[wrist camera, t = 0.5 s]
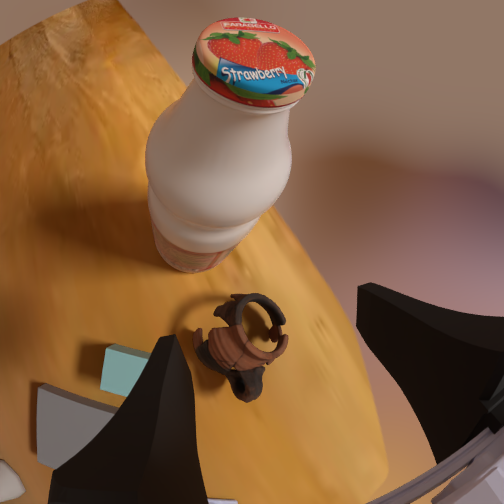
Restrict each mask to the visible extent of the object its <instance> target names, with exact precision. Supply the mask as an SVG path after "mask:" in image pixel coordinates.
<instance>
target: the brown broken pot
mask: <svg viewBox="0 0 504 504" xmlns="http://www.w3.org/2000/svg"><path fill="white" fill-rule="evenodd" d="M230 297H231V298H234V299H235V301H230V302H226V303H225V304H223V305H220V306H218V307H217V308H216V309H215V311H214V314H213V315H214V316H216V317H219V316H220V317H221V318H222V319H223V320H224V321H225V322H226V323H227V324H228V325H229V327H222V328H212V330H210V332H209V334H208V338H209V339H208V340H206V341H205V342H204V343H203V339H202V329H201V328H198V329H197V330H196V331H195V332H194V334H193V345H194V349H195V352H196V354H197V356H198V358H199V359H200V361H201V362H202V363H203V364H204V365H205V366H206V367H208V368H210V369H212V370H214V371H217V372H219V373H221V374H223V375H225V376H226V377H227V379H228V380H229V382H230V384H231V388H232V391H233V393H234V395H235V396H236V397H237V398H238V399H239V400H242V401H244V402H246V403H248V402H251V401H252V400H255V399H257V398H258V397H259V396H260V394H261V392H262V387H263V383H262V375H263V373H264V371H265V367H264V366H262V365H264V364H265V363H266V364H267V365H269V364H271V363H272V362H273V361H274V359H275V358H277V357H279V356H280V355H281V354H282V353H283V352H284V351H285V349H286V347H287V344H288V335H286V334H284V335H282V330H281V326H280V325H284V324H285V322H286V319H285V317H284V315H283V313H282V311H281V310H280V308H279V307H278V306H277V305H276V303H274V302H273V301H272V300H271V299H269V298H268V297H266V296H265V295H261V294H259V293H251V294H231V295H230ZM248 302H256V303H258V304H259V305H261V306H262V307H263V308H264V309H265V310H266V311H267V313H268V314H269V316H270V319H271V321H272V324H273V326H272V327H271V328H270V330H269V332H268V334H269V337H270V339H271V341H272V342H277V341H278V343H277V347H276V348H275V350H274V351H272V352H264V351H261V350H259V349H258V348H256V347H255V346H254V345H253V344H252V343H251V342H250V341H249V340H248V338H247V336H246V334H245V332H244V329H243V326H242V311H243V309H244V307H245V305H246V304H247V303H248ZM232 367H234V368H235V369H236V370H233V369H231V368H232Z"/></svg>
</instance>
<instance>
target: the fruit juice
mask: <svg viewBox="0 0 504 504" xmlns="http://www.w3.org/2000/svg"><path fill="white" fill-rule="evenodd" d="M315 68H316V67H315V61H314V58H313V56H312V53H311V52H310V50H309V49H308V48H307V46H306V45H305V44H304V43H303V42H302V41H301V40H300V39H299V38H298V37H296V36H295V35H294V34H292V33H291V32H289V31H287V30H286V29H284V28H282V27H280V26H277V25H275V24H272V23H269V22H266V21H262V20H258V19H252V18H228V19H223V20H220V21H217V22H215V23H213V24H211V25H209V26H208V27H207V28H205V29H204V30H203V31H202V33H201V34H200V36H199V38H198V40H197V42H196V45H195V48H194V52H193V56H192V71H193V75H194V79H193V80H192V82H191V83H190V85H189V86H188V87H187V89H186V90H185V92H184V93H183V95H182V96H181V98H180V99H178V100H177V101H175V102H174V103H172V104H171V105H170V106H169V107H167V108H166V109H165V110H164V111H163V112H162V114H161V115H160V116H159V117H158V119H157V120H156V122H155V123H154V125H153V127H152V129H151V131H150V134H149V136H148V140H147V144H146V151H145V167H146V173H147V177H148V180H149V182H148V207H149V211H150V217H151V223H152V229H153V235H154V240H155V244H156V247H157V250H158V252H159V254H160V255H161V256H162V258H163V259H164V260H165V261H166V262H167V263H168V264H169V265H171V266H172V267H174V268H175V269H178V270H180V271H183V272H188V273H199V272H204V271H208V270H210V269H212V268H214V267H216V266H217V265H218V264H220V263H221V262H222V261H223V260H224V259H225V258H226V257H227V256H228V255H229V253H230V252H231V251H232V250H233V249H234V248H235V247H236V246H237V245H238V244H239V243H240V242H241V241H242V240H243V239H244V238H245V237H246V236H247V235H248V234H249V233H250V231H251V230H252V229H253V227H254V226H255V225H256V223H257V221H258V220H259V218H260V216H261V215H262V214H263V213H265V212H266V211H267V210H268V209H269V208H270V207H271V206H272V205H273V204H274V203H275V201H276V200H277V199H278V197H279V196H280V194H281V193H282V191H283V189H284V187H285V186H286V183H287V181H288V178H289V175H290V170H291V162H292V154H291V146H290V142H289V139H288V120H289V111H290V108H291V107H293V106H294V105H295V104H296V103H297V102H298V101H299V100H300V99H301V98H302V97H303V96H304V95H305V93H306V92H307V90H308V88H309V87H310V85H311V82H312V80H313V78H314V74H315Z"/></svg>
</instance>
